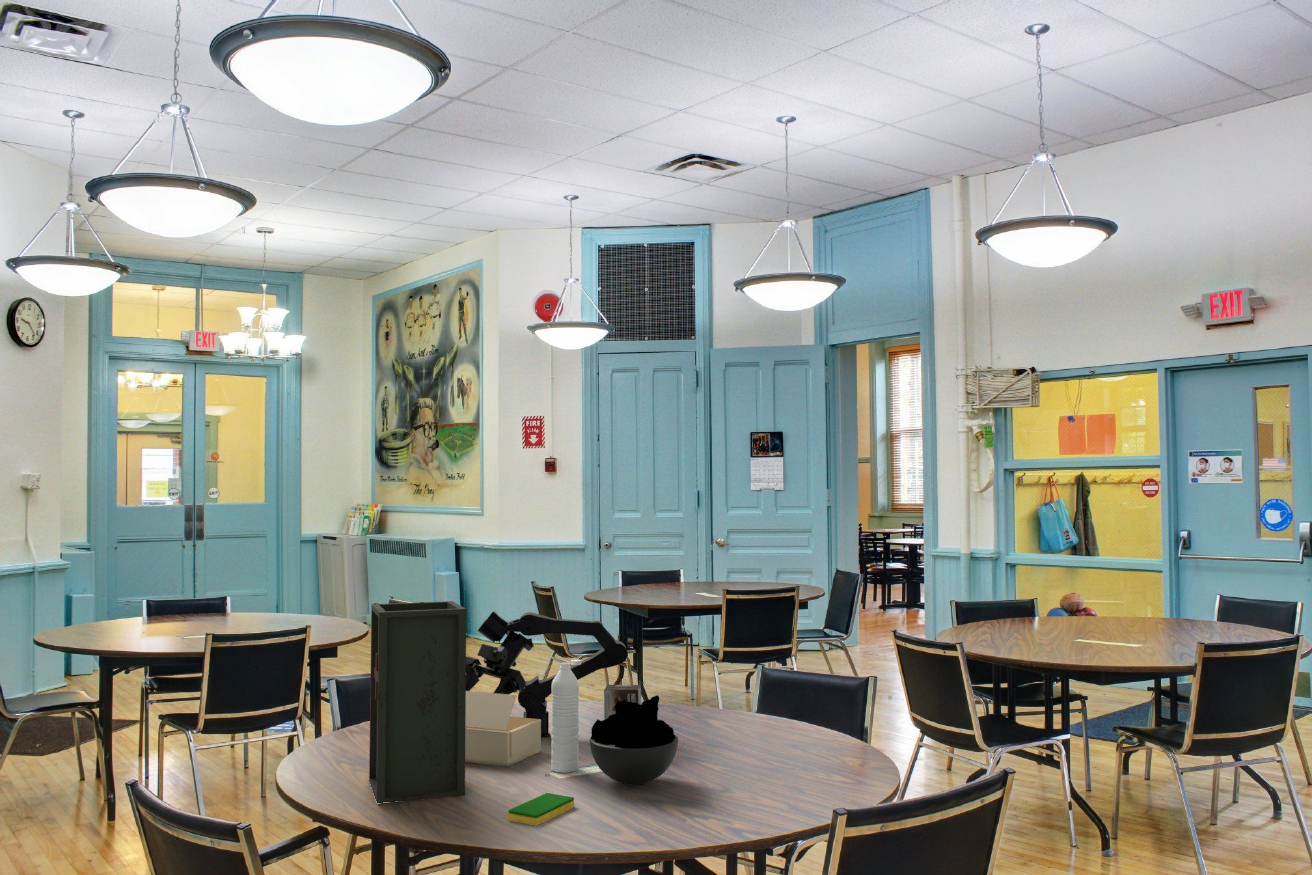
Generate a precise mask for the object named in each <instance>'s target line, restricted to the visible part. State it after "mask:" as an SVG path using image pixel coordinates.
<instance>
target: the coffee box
mask: <svg viewBox="0 0 1312 875" xmlns="http://www.w3.org/2000/svg"><path fill="white" fill-rule="evenodd" d="M623 700H624V701H626V702H629V701H631V702H634V703H638V704H641V705H642V685H641V684H607V685H606V686H605V688H604V689H603V710H604V711H603V714H604V716H603V717H604V718H603V719H604V720H605V719H606V718H608V717H609V715H613V714H616V710H615V705H616V703H617V702H618V701H619V702H622V701H623Z"/></svg>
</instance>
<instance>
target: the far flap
mask: <svg viewBox="0 0 1312 875" xmlns="http://www.w3.org/2000/svg"><path fill="white" fill-rule="evenodd" d="M517 698H518V694H517V695H516V694H497V693H494V692H483V691H482V692H481V691H473V690H470V691H466V718H465V727H473V728H483V729H493V730H503V731H506V728H507V725H508V721H509V718H510V717H511V715H512V712H513V708H514V705H515V702H516V699H517Z"/></svg>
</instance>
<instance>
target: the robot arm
mask: <svg viewBox="0 0 1312 875" xmlns="http://www.w3.org/2000/svg"><path fill="white" fill-rule="evenodd" d="M477 633H479V634H481V635H482V636H483V637H485V638H486V639H488V640H489V641H491V643H493V644H494V643H495V642H498V643H500V642H501V641H502V639H503V638H504V636H505V638H504V639H503V641H502V642H501V644H500V645H499V646H498V647H496V646H495V647H494V646H493V645H488V644H485V643H481V644H480V645H481V646H480V648H479V650H478V652H477V656H479V657H481V658H483V663H484V664H486V665H482V663H481V661H480V659H479V658H476V657H472V656H466V691H472V689H473V688H474V687H475V686H476V685H477V684H478V683H479V682H480V678H482V677H483V675H487V676H491V677H493V678H496V679H500V680H499V684H498V685H497V687H496V688H495V690H494V691H493V693H497V694H509V695H512V694H513V693H517V692H518V694H517V701H518V704H519V705H520V706H521V707H522V708H524V710H525V711H523V716H522V718H531V719H541V738H544V737H546V738H547V737H551V733H550V731H549V730H550V729H549V727H550V726H549V724H550V720H549V718H550V717H549V716H550V713H549V711H548V710H547V709H548V708H547V707H548V701H547V699H548V697H549V696H550V695H552V690H551V686H552V681H553V679H554V678H555V676H556V675H557V673H556V674H554V675H551V676H549V677H547V678H543V679H540V677H539V675H536V676H534V677H533V678H532V679H530V680H526V679H525V678H524V676H523V675H522V672H521V671H520V670H518V669H514V668H515V667H516V666H517V662H516V660H517V659H518V658H519V656H520V654H521V653H522V652H523V650H524V649H525V650H526V651H527V652H529V651H531V650H532V649H533V648H534V643H533V639H532V638H527V637H530V636H540V635H545V634H563V635H574V636H575V635H577V636H591V637H594V639H595V640H596V641H597V642H598V643H599V645H600V646H601V648H600V649H598V651H596V652H595V653H594V654H593V655H592V656H590V657H588V658H586V659H583V660H581V664H580V665H570V666H571V667H570V669H571V671H572V672H573V674H574V675H575V677H576V678H577V680H578V681H579V680H580V679H582V678H584V677H586V676H589V675H591V674H593V673H595V672H596V671H598V670H604V669H609V668H612V667H616V666H619V665H622V664H623V663H625V662H626V660H627V659H628V650H627V647H626V645H625V644H624V643H623V642H622V641H620V640H618V639H617V640H616V639H615V637H614V636H613V635H611V633H610V632H609V631H608V630H607V629H606V627H605V626H604V624H603V623H602V622H601V621H599V620H592V621H591V620H581V619H580V620H579V619H578V620H577V619H566V618H552V617H549V616H546V615H542V614H539V613H535V612H530V611H529V612H525V613H523V614H521V615H520V618H517V619H514V620H511V621H507V620H505V619H504V618H503V617H502V616H500V615H499V614H498V613H497V612H496V611H494V610H493V611H491V613H490V614H489V616H487V618H486V619H485V620H483V622H482V624H481V625H480V626H479V628H478V629H477ZM526 636H527V637H526ZM513 667H514V668H513Z"/></svg>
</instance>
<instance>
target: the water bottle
mask: <svg viewBox="0 0 1312 875" xmlns="http://www.w3.org/2000/svg"><path fill="white" fill-rule="evenodd" d="M581 661H582V659H571V660H570V662H560V666H559V670H558V672H557V673H556V674H557V675H556V676H555V678H554V679H553V681H552V686H551V690H552V693H551V718H550V719H551V720H550V721H551V722H550V723H551V733H550V737H551V743H550V744H551V751H550V752H551V754H550V755H551V756H550V757H551V761H550V762H551V763H550V768H551V771H552V772H555V773H563V774H567V773H574V772H576V771H578V770H579V765H580V759H579V754H580V753H579V752H580V750H579V748H580V744H579V739H580V734H579V731H580V729H579V727H580V726H579V722H580V720H579V719H580V718H579V714H580V713H579V703H580V702H579V690H580V687H579V686H580V684H579V683H580V682H579V680H577V678H576V677H575V675H574V674H573V672H572V671H571V669H570V667H571V666H573V665H580V664H581Z"/></svg>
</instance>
